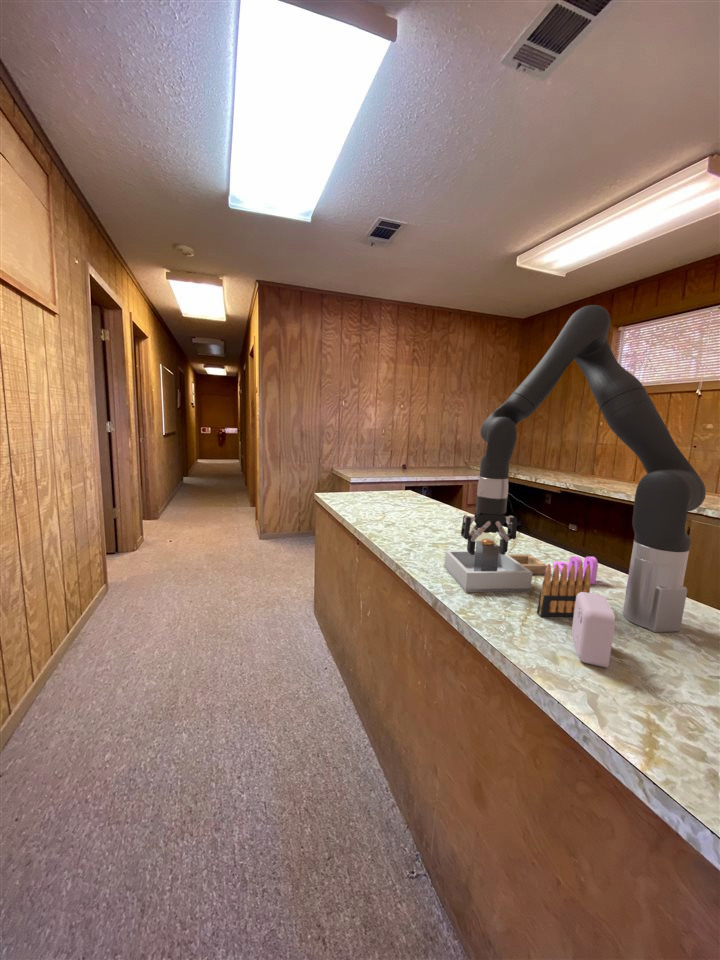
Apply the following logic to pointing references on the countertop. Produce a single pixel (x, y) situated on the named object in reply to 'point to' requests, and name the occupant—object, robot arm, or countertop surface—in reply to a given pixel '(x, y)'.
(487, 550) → the grey upright block
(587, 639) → the electronic device
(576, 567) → the pink humped piece
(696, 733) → the countertop surface
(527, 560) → the socket block
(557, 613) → the ammunition clip
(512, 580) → the bin
